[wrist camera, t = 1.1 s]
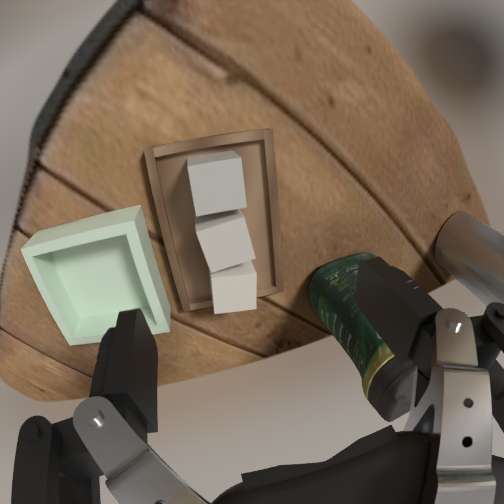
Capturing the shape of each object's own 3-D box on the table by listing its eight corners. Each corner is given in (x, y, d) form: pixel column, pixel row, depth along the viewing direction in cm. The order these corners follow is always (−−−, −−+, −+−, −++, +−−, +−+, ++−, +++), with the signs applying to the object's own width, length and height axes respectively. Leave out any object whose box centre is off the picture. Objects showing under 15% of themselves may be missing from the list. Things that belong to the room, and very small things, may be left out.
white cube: (247, 252, 29) (256, 273, 26) (247, 285, 31) (256, 308, 28) (207, 256, 29) (211, 278, 25) (210, 290, 31) (214, 314, 27)
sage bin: (141, 204, 25) (134, 220, 22) (170, 307, 31) (170, 331, 28) (37, 231, 24) (20, 249, 20) (77, 322, 30) (69, 345, 26)
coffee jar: (308, 316, 36) (376, 439, 20) (303, 265, 32) (393, 398, 16) (374, 293, 37) (456, 393, 21) (376, 242, 33) (484, 343, 17)
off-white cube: (233, 150, 24) (241, 157, 21) (238, 193, 26) (246, 207, 23) (187, 157, 24) (187, 166, 20) (194, 200, 26) (196, 216, 22)
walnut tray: (268, 128, 25) (272, 129, 24) (280, 285, 33) (283, 291, 32) (145, 148, 23) (143, 150, 22) (183, 304, 31) (183, 311, 30)
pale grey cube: (236, 201, 27) (244, 216, 23) (246, 238, 29) (255, 258, 25) (194, 214, 26) (195, 232, 23) (207, 251, 28) (211, 273, 25)
